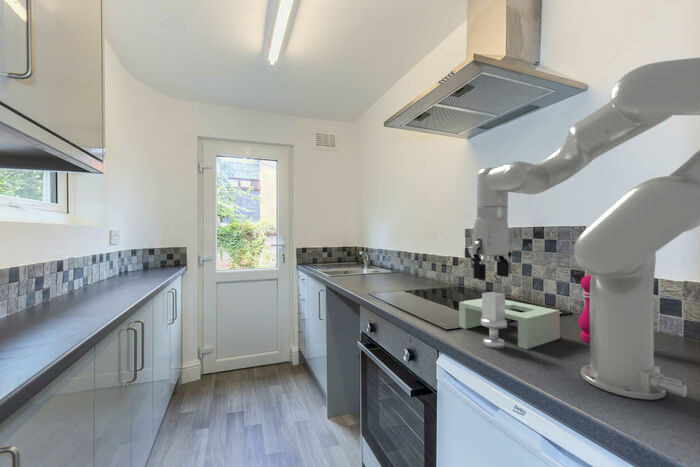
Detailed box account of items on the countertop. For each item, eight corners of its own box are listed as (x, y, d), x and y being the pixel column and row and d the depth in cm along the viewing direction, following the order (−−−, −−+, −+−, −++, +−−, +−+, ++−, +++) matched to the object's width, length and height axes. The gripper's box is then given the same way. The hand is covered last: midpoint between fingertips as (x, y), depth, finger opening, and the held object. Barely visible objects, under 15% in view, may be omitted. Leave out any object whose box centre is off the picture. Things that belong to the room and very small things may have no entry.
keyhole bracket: (559, 338, 87) (559, 310, 87) (526, 349, 79) (526, 318, 79) (491, 319, 106) (490, 296, 106) (459, 327, 99) (459, 302, 99)
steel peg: (512, 347, 81) (511, 294, 81) (497, 351, 78) (496, 297, 78) (490, 339, 87) (490, 290, 87) (475, 344, 83) (475, 292, 83)
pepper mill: (581, 343, 83) (580, 270, 83) (576, 335, 90) (575, 267, 90) (615, 347, 80) (614, 271, 80) (607, 339, 86) (606, 268, 86)
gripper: (499, 215, 90) (498, 273, 90) (458, 214, 81) (458, 277, 82) (524, 214, 83) (523, 277, 84) (483, 212, 75) (482, 282, 75)
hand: (491, 277), depth 83 cm, fingers open, 9 cm apart
